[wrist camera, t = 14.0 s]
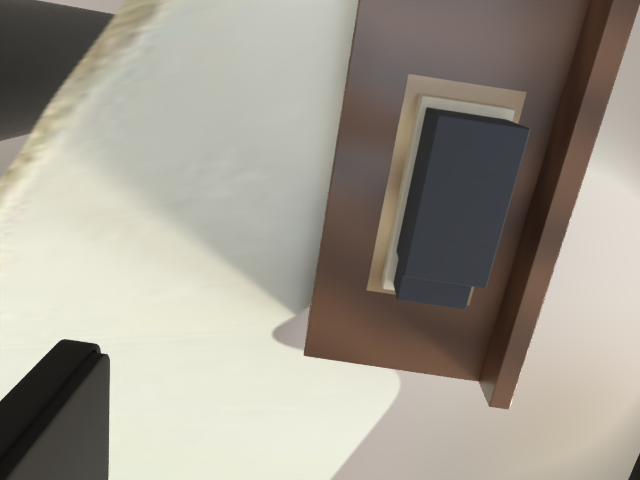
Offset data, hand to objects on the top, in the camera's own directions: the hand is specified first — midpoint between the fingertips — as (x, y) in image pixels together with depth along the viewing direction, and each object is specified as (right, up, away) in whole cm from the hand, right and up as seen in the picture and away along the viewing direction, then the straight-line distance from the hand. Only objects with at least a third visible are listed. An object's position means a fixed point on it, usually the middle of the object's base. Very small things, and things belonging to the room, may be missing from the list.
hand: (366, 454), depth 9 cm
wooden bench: (+6, +7, +23) cm, 25 cm away
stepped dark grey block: (+6, +6, +19) cm, 21 cm away
